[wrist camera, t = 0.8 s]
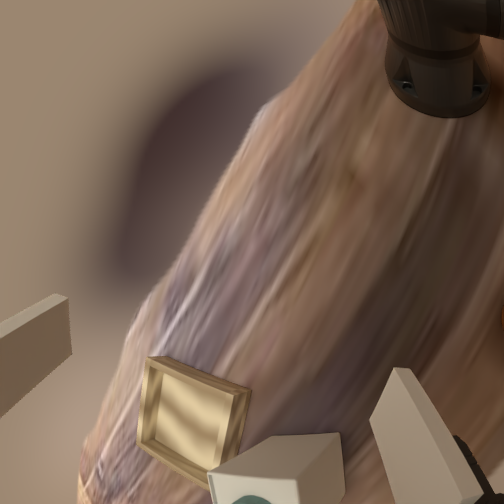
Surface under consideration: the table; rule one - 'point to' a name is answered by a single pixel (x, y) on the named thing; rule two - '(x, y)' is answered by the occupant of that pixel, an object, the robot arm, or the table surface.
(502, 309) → the disposable coffee cup
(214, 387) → the caddy
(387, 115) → the table surface
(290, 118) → the table surface
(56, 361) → the robot arm
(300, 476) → the soap bottle
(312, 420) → the table surface
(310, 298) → the table surface
